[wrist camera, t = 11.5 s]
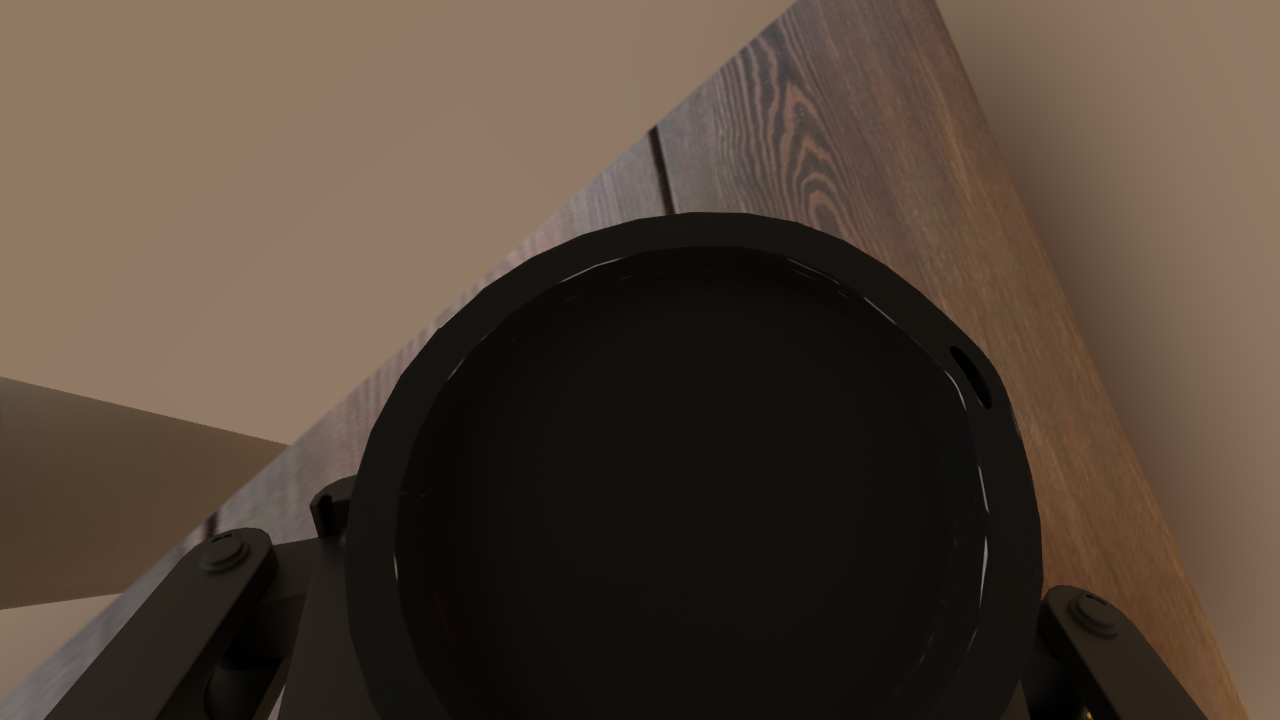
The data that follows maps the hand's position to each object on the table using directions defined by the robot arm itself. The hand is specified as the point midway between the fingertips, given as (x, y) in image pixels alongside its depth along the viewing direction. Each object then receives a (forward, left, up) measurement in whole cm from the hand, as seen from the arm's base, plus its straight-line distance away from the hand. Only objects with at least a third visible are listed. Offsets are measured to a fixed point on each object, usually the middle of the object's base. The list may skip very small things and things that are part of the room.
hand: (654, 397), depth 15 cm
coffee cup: (0, -3, -6) cm, 7 cm away
